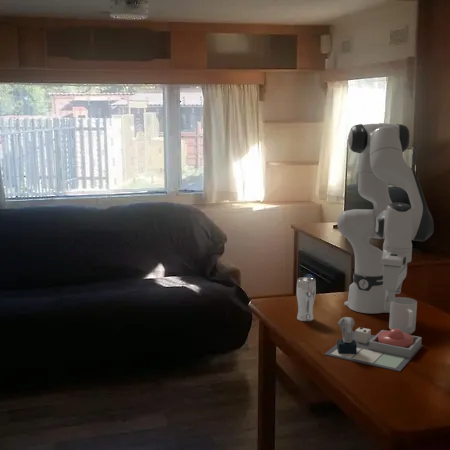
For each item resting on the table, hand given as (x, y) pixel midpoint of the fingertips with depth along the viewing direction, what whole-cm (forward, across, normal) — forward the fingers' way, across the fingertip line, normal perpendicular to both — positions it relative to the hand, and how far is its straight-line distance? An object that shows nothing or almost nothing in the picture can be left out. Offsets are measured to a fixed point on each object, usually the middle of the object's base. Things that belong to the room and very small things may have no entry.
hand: (394, 297), depth 200 cm
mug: (+18, -17, +1) cm, 24 cm away
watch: (+17, +10, -12) cm, 23 cm away
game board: (+17, +4, -5) cm, 18 cm away
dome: (+16, -1, +1) cm, 16 cm away
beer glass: (+17, -16, -35) cm, 42 cm away
